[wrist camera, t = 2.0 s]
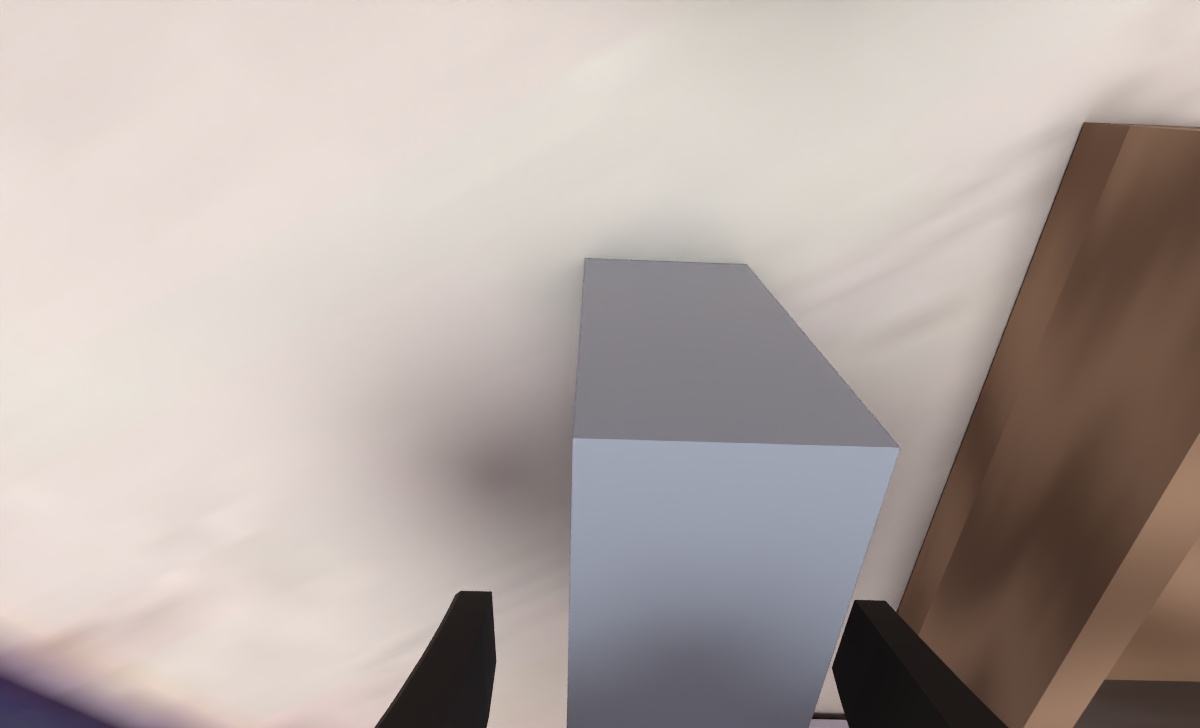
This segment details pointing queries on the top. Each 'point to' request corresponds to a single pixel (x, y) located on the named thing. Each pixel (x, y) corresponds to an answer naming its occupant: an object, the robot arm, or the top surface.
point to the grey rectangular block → (710, 502)
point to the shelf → (1085, 462)
